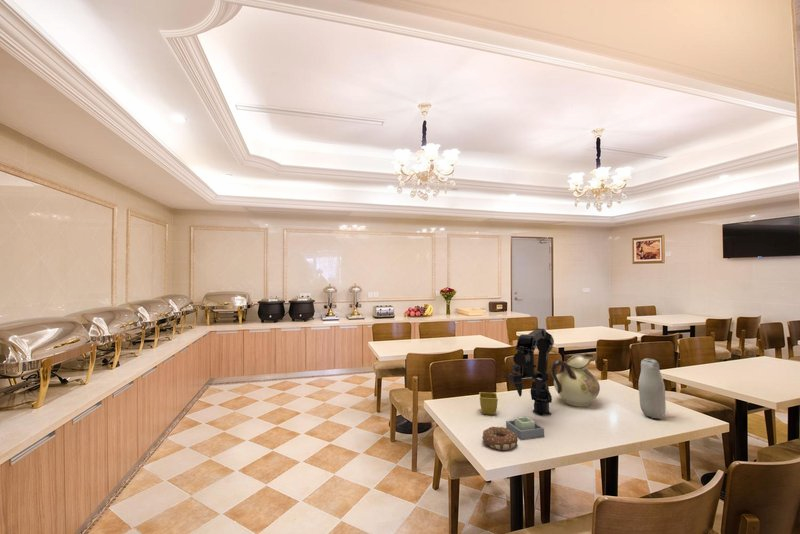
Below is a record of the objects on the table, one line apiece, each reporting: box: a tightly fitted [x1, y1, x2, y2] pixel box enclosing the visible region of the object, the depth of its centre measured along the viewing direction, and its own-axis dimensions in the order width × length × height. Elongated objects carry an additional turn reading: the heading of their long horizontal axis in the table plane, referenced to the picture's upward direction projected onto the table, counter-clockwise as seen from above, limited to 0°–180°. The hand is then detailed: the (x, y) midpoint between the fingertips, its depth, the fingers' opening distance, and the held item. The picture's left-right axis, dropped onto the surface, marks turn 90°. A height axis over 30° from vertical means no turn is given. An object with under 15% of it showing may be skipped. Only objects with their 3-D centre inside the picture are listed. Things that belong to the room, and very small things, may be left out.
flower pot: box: [478, 391, 499, 416], centre depth 173 cm, size 9×9×9 cm
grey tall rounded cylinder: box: [637, 357, 667, 419], centre depth 166 cm, size 10×10×28 cm
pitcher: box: [550, 353, 601, 408], centre depth 186 cm, size 22×24×25 cm
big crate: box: [505, 419, 545, 441], centre depth 150 cm, size 11×11×4 cm
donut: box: [481, 426, 519, 451], centre depth 140 cm, size 14×14×5 cm
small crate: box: [514, 416, 536, 431], centre depth 150 cm, size 6×6×5 cm
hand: (528, 395), depth 160 cm, fingers open, 9 cm apart
